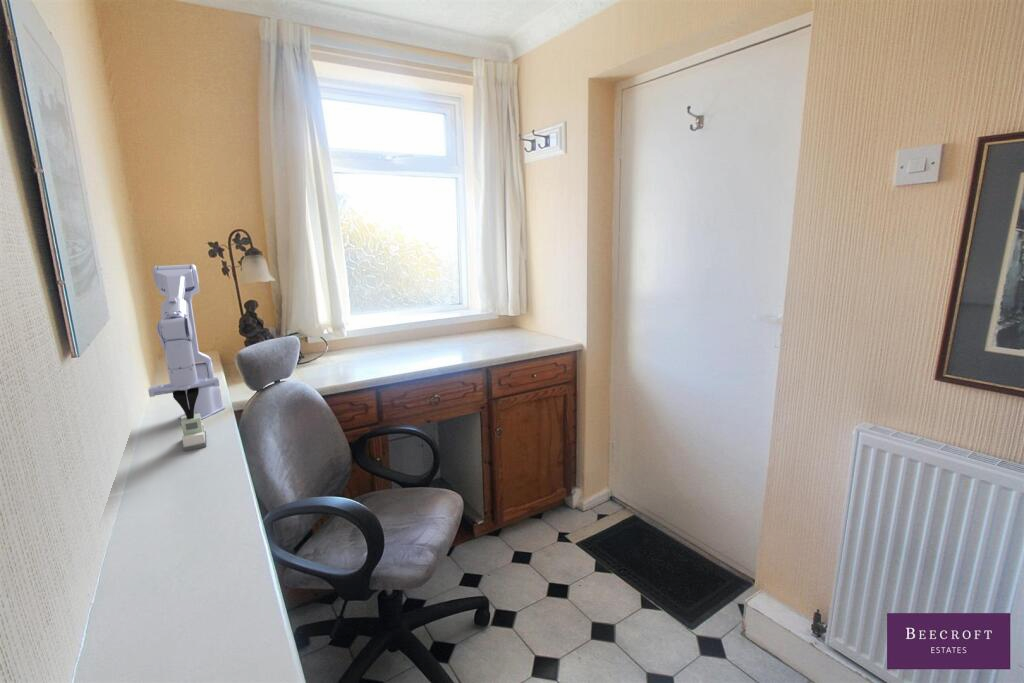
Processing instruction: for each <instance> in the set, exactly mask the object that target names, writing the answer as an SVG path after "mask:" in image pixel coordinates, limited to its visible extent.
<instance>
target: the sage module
mask: <svg viewBox="0 0 1024 683" xmlns="http://www.w3.org/2000/svg"><path fill="white" fill-rule="evenodd" d="M180 416H181V415H180ZM202 423H203V422H202V419H201V416H200V413H198V414H194V418H192V419H187V417H186V416H181V418H180V424H181V429H182V434H183V435H182V436H185V435H190V434H195V433H200V432H203V427H202Z"/></svg>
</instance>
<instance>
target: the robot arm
mask: <svg viewBox="0 0 1024 683" xmlns="http://www.w3.org/2000/svg"><path fill="white" fill-rule="evenodd" d="M152 274H153V282H154V285H155V287H156V288H157V291H158V292H159V293H160V294H161V296H164V297H166V298H165V299H164V300H163V301H162V302H161V305H160V321H157V323H156V331H157V336H158V339H159V341H160V344H161V348H162V351H164V356H165V362H166V367H167V373H168V377H169V378H168V379H169V383H165V384H162V385H161V384H160V385H155V386H150V387H148V396H149V398H154V397H156V396H161V395H169V394H172V397H173V399H174V400H175V402H176V403H178V404H179V406H180V408H181V409H182V410H183V412H184V414H182V415H179V416H178V419H181V416H186V417H187V419H192V418H194V414H198V413H200V416H201V420H204V419H206V418H208V417H210V416H212V415H214V414H217V413H219V412H220V411H222V410H225V409H226V406H224V405H223V400H222V393H221V389H220V379H219V376H218V377H217V376H215V371H214V369H215V368H214V365H213V361H212V358H211V357H210V356H209V354H208V355H207V354H206V353H203V352H201V351H200V349H199V342H198V337H197V336H198V335H197V330H196V329H197V328H196V323H195V322H196V321H195V317H194V316H195V315H194V310H193V304H192V303H193V297H194V296H195V295H196V294H197V295H198V294H199V293H200V284H199V274H198V269H197V266H196V265H195V264H194V263H191V264H173V265H154V267H153V268H152Z"/></svg>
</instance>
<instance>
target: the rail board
mask: <svg viewBox="0 0 1024 683" xmlns="http://www.w3.org/2000/svg"><path fill="white" fill-rule="evenodd" d="M202 427H203V432H200V433H195V434H190V435H185V436H184V435H182V436H181V440H182V451H183V452H189V451H193V450H198V449H202V448H206V447H207V430H205V426H204V422H202Z"/></svg>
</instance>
